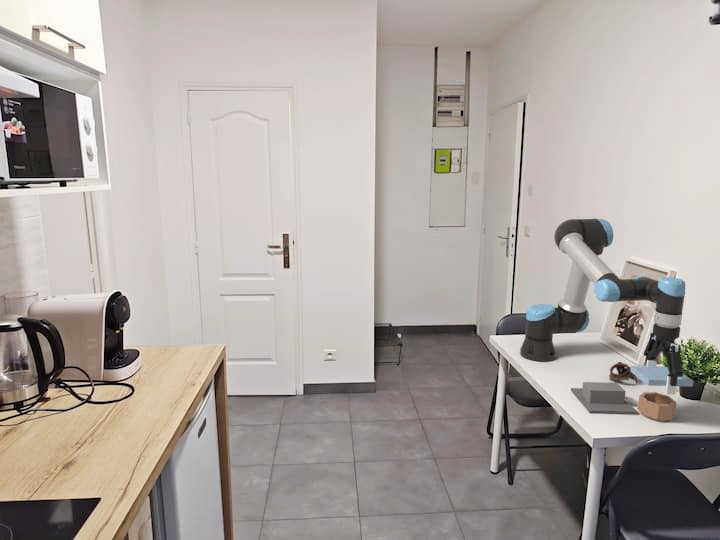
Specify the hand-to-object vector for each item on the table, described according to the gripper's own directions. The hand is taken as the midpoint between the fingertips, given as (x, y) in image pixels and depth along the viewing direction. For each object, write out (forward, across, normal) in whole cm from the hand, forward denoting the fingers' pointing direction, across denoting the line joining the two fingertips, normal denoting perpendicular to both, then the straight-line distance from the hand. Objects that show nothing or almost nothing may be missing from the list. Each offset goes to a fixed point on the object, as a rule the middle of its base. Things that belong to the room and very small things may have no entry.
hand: (659, 385), depth 164 cm
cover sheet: (-3, 0, 0) cm, 3 cm away
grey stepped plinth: (+11, -9, -14) cm, 20 cm away
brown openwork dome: (+11, -29, +2) cm, 31 cm away
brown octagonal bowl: (+11, 0, 0) cm, 11 cm away
